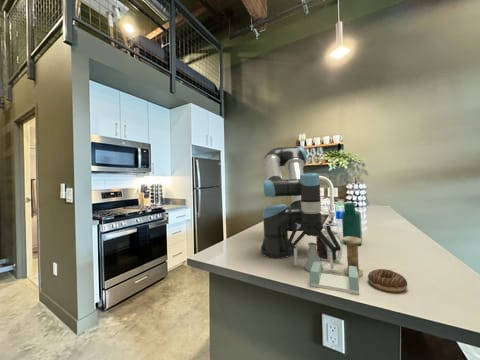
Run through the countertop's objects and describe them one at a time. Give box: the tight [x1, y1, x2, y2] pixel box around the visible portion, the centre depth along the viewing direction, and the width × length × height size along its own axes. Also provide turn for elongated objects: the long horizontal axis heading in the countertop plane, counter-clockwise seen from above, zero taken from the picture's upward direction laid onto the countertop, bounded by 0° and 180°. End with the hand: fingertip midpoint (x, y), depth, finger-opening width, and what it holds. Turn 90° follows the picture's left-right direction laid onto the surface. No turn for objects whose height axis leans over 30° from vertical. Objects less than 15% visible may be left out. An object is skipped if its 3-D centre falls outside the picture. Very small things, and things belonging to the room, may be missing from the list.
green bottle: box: [341, 202, 363, 246], centre depth 113 cm, size 10×8×22 cm
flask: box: [304, 242, 324, 272], centre depth 84 cm, size 7×7×10 cm
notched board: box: [310, 261, 360, 295], centre depth 71 cm, size 14×9×5 cm, turn 64°
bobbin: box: [342, 236, 364, 278], centre depth 78 cm, size 6×6×13 cm
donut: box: [367, 268, 408, 293], centre depth 69 cm, size 11×11×4 cm
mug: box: [315, 229, 343, 262], centre depth 94 cm, size 10×12×11 cm
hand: (313, 265), depth 84 cm, fingers open, 13 cm apart
